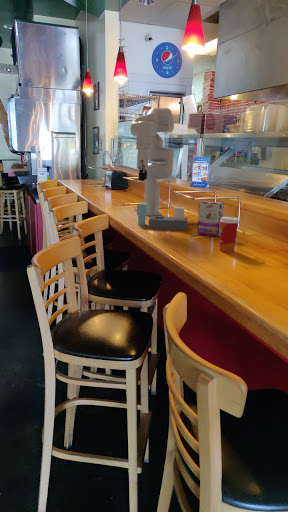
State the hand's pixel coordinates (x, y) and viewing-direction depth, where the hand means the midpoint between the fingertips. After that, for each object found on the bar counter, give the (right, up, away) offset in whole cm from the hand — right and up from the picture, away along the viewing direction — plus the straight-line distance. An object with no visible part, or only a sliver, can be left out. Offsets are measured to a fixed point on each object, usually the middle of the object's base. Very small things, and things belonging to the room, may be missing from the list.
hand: (142, 180), depth 196 cm
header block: (+14, -25, 0) cm, 29 cm away
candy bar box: (+33, -30, -13) cm, 47 cm away
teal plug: (-1, -23, +7) cm, 24 cm away
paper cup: (+35, -39, -42) cm, 67 cm away
